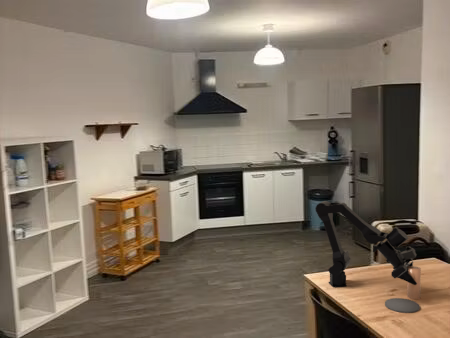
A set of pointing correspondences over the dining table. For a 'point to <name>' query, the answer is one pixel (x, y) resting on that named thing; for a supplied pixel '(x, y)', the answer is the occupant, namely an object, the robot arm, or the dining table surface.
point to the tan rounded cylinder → (414, 290)
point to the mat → (402, 305)
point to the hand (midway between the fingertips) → (417, 282)
